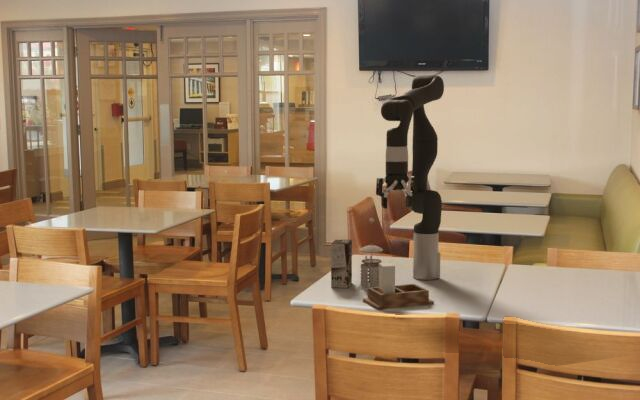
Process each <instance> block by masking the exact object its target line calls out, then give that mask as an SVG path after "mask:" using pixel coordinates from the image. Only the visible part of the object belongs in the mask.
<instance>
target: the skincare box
mask: <svg viewBox="0 0 640 400" xmlns="http://www.w3.org/2000/svg"><path fill="white" fill-rule="evenodd" d="M395 285H396V265H394V263H392V262H387V261H386V262H381V263H379V292H380V293H382V294H390V293H395Z"/></svg>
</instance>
